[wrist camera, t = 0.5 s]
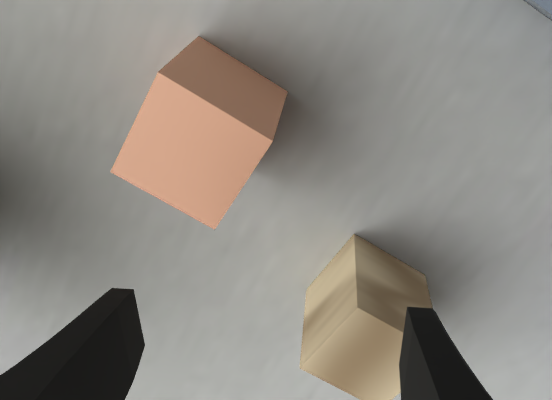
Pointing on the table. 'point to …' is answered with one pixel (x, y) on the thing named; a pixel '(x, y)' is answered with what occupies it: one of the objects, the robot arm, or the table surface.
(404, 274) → the maple block
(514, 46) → the table surface
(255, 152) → the terracotta block
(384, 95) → the table surface
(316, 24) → the table surface
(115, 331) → the robot arm
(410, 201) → the table surface
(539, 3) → the slate tray
